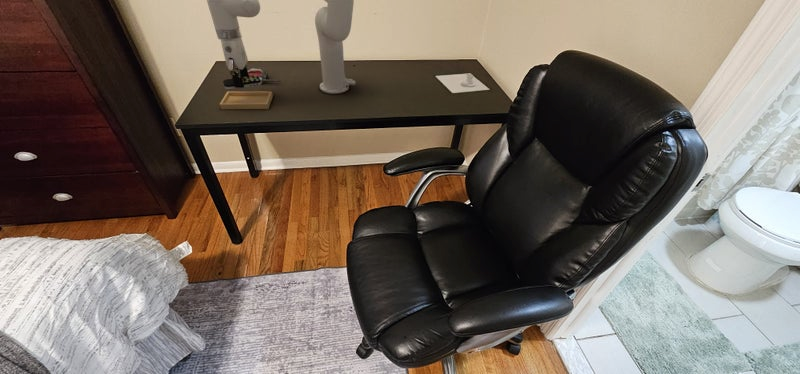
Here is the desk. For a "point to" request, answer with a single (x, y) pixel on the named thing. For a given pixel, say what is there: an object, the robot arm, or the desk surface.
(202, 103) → the desk surface
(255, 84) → the remote control
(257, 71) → the walkie-talkie
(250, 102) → the tray
